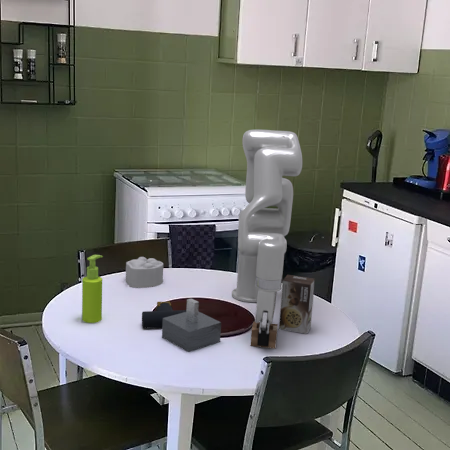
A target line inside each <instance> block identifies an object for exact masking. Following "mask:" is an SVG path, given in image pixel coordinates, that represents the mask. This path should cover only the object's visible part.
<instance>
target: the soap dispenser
mask: <svg viewBox="0 0 450 450" xmlns="http://www.w3.org/2000/svg"><path fill="white" fill-rule="evenodd" d="M103 257H104V256H103V255H100V254H92V255H90V256H88V257H87V261H89V266H87V267H86V276H85V277H83V278H82V281H81V283H82V289H81V290H82V291H81V292H82V293H81V294H82V298H81V300H82V301H81V303H82V304H81V321H82V322H84V323H86V324H95V323H97V324H98V323H99V322H101V321H102V317H103V278H102V277H101V276H99V267H98V266H96V260H97V259H100V258H103Z"/></svg>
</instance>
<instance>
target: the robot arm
mask: <svg viewBox="0 0 450 450" xmlns="http://www.w3.org/2000/svg"><path fill="white" fill-rule="evenodd" d="M242 149H243V152H244V155H245V158H246V166H247V167H246V176H245V177H246V178H245V179H246V180H245V192H244V193H245V194H244V195H245V200H246V202H247V203H248V205H247V206H246V207H244V208H243V209H242V210H240V212H239V215H238V227H237V228H238V230H237V233H238V235H237V247H238V249H237V250H238V262H237V263H238V264H237V278H236V288H234V289H232V291H231V297H232V298H234V299H235V300H238V301H241V302H244V303H245V302H246V303H256V305H255V306H256V307H255V319H254V322H256V323H259V322H260V327H259V332H258V342H257V345H258V346H267V347H268V345H269V334H270V333H269V325H270V324H273V319H274V314H275V309H276V303H277V292H279V291H282V281H283V271H284V260H285V254H286V252H287V248H288V247H287V244H288V243H287V239H286V238H285V237H286V236H287V235H288V234H289V232H290V227H291V220H292V219H291V218H292V209H293V200H294V186H293V183H292V182H291V180H290V179H287V178H284V177H297V176H299V175H300V174H301V173H302V169H303V154H302V149H301V145H300V141H299V138H298V135H297V133H295V132H293V131H289V130H272V129H271V130H270V129H248V130H246V131H245V132H244V133H243V136H242ZM268 207H269V208H268ZM271 207H277V208H271ZM266 325H267V327H266Z"/></svg>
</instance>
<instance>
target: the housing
mask: <svg viewBox="0 0 450 450" xmlns="http://www.w3.org/2000/svg"><path fill="white" fill-rule="evenodd" d="M199 306H200V302H199V301H198V300H195V299H194V298H188V299H186V309H185V310H186V312H183V313H180V314H176V315H173V316H169V317H165V318H163V324H162V328H161V338H162V339H164V340H166V341H167V342H169V343H171V344H172V345H175V346H177V347H179V348H180V349H182V350H184V351H185V352H186V353H189V352H193V351H196V350H198V349H202V348H205V347H208V346H211V345H213V344H217V343H220V342H221V332H222V330H221V329H222V322H221V321H219V320H217V319H215V318H213V317H211V316H209V315H207V314H204V313H203V312H201V311H199V309H200V308H199Z"/></svg>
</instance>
